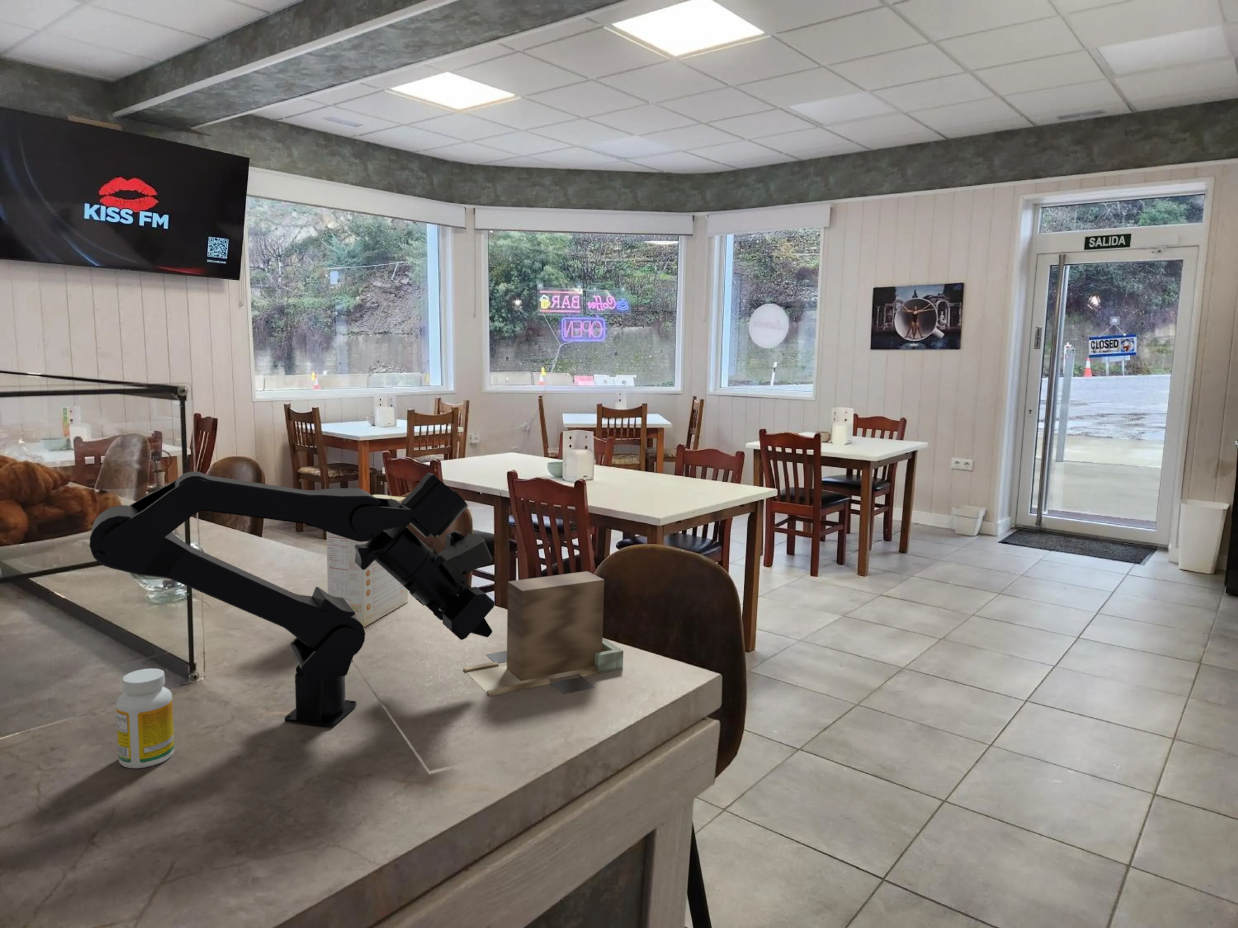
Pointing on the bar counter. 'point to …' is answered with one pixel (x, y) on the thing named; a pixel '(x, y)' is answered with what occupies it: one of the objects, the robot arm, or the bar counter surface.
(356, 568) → the coffeecake box
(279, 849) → the bar counter surface
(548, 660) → the walnut block
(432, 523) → the robot arm
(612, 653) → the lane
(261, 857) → the bar counter surface
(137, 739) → the supplement bottle
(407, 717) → the bar counter surface
